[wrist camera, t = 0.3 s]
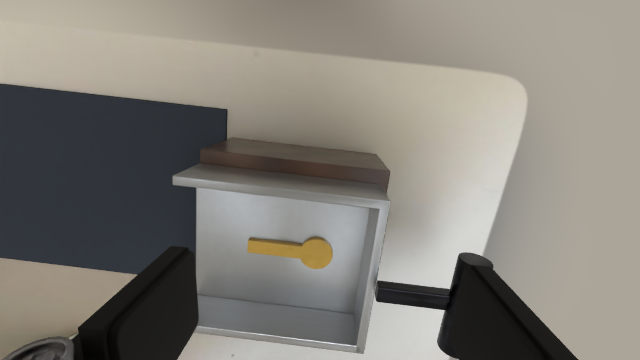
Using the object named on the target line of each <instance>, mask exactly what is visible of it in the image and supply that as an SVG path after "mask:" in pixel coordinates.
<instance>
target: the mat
mask: <svg viewBox="0 0 640 360" xmlns="http://www.w3.org/2000/svg"><path fill="white" fill-rule="evenodd" d="M226 136H227V109H219V108H210V107H201V106H192V105H183V104H174V103H166V102H157V101H148V100H139V99H130V98H121V97H112V96H104V95H95V94H86V93H77V92H68V91H59V90H51V89H42V88H33V87H24V86H15V85H6V84H0V258H8V259H16V260H24V261H32V262H41V263H49V264H57V265H65V266H73V267H81V268H89V269H98V270H106V271H114V272H122V273H130V274H139V273H140V272H142V271H143V270H144V269H145V268H146V267H147V266H148V265H149V264H151V263H152V262H153V261H154V260H155V259H156V258H157V257H159V256H160V255H161V254H162V253H163V252H164V251H165V250H166V249H168V248H169V247H170V246H180V247H188V248H189V249H190V251H193V252H194V255H195V267H196V188H195V187H187V186H178V185H173V175H175V174H178V173H180V172H182V171H184V170H186V169H189V168H191V167H193V166H195V165H197V164H199V163H200V149H203V148H205V147H208V146H211V145H214V144H217V143H220V142H222V141H225V140H226Z"/></svg>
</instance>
